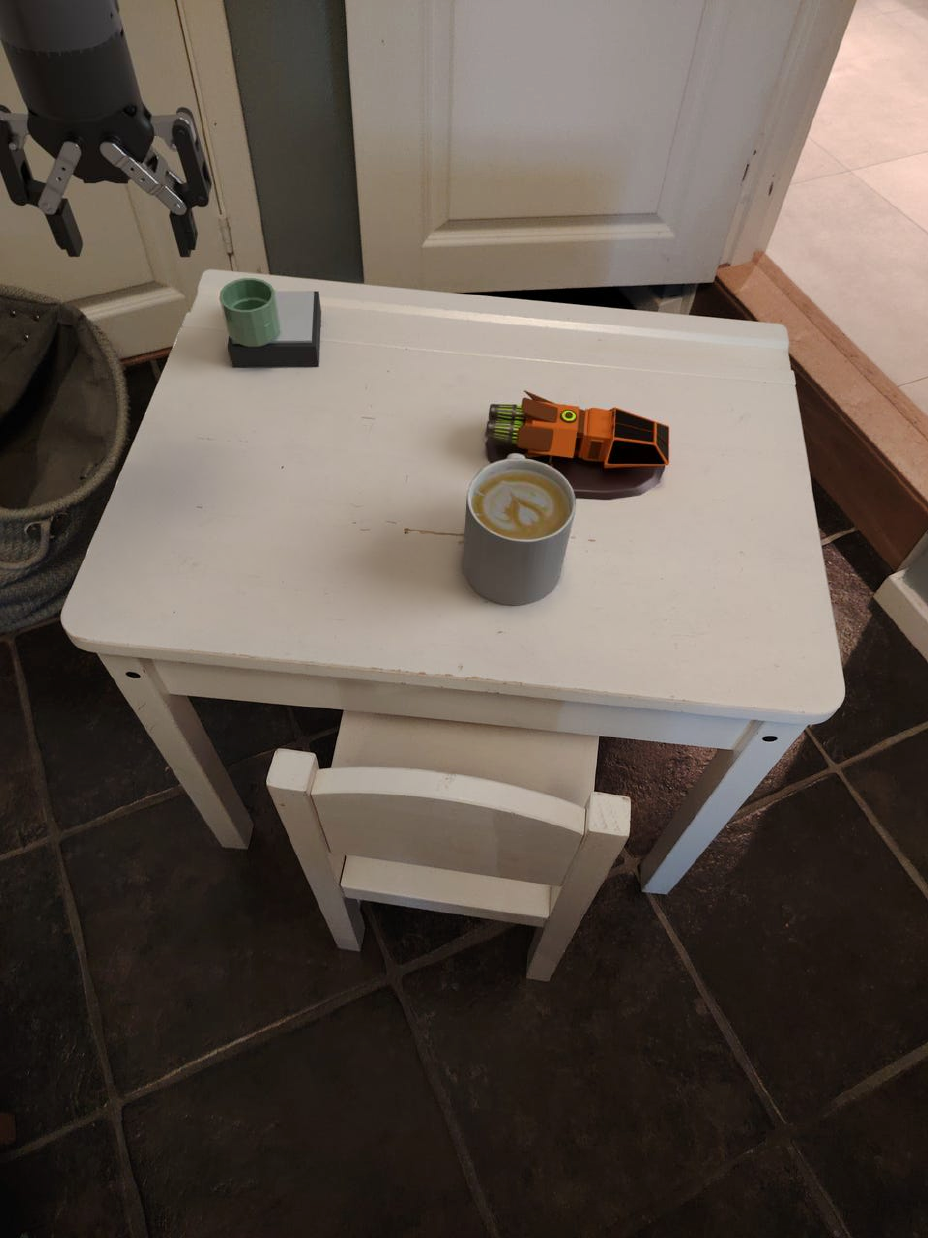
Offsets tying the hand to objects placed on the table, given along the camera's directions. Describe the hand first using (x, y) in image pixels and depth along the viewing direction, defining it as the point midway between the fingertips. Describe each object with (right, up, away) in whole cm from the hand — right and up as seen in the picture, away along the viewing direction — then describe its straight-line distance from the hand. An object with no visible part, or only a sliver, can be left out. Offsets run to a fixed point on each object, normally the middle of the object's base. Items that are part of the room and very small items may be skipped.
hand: (132, 251), depth 66 cm
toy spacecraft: (+39, -11, +26) cm, 48 cm away
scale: (+4, +4, +34) cm, 35 cm away
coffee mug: (+31, -22, +18) cm, 43 cm away
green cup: (+2, +4, +30) cm, 30 cm away
